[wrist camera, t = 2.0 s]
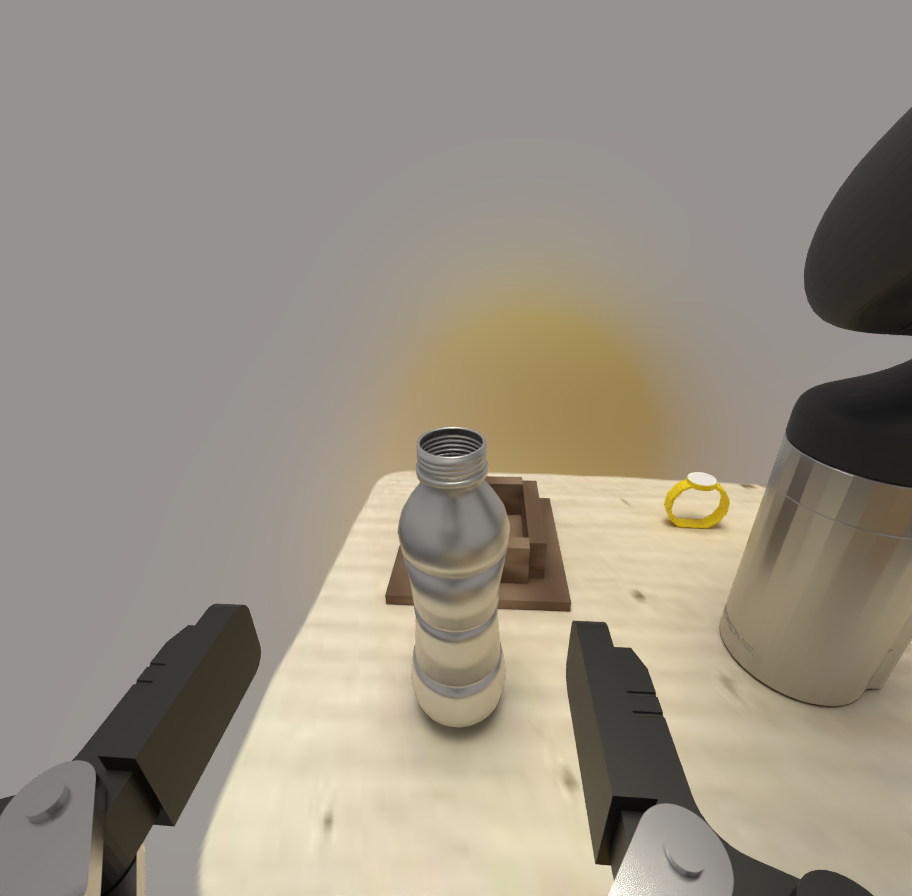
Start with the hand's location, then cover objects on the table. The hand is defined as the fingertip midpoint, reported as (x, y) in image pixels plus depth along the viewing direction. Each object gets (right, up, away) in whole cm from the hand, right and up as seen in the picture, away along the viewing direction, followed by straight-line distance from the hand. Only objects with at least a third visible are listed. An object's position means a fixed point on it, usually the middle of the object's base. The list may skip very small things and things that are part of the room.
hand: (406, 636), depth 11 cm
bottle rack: (+4, -6, +35) cm, 35 cm away
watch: (+27, -4, +38) cm, 46 cm away
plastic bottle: (+1, -13, +21) cm, 25 cm away
